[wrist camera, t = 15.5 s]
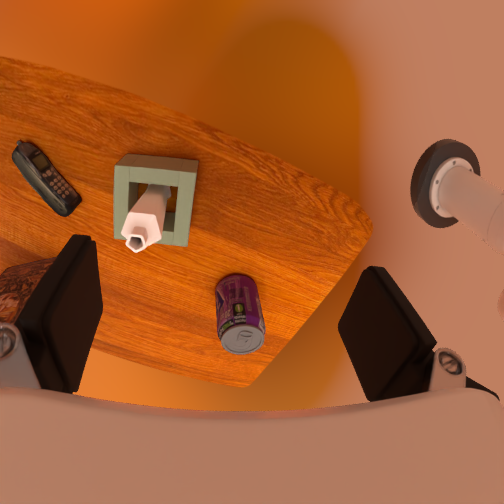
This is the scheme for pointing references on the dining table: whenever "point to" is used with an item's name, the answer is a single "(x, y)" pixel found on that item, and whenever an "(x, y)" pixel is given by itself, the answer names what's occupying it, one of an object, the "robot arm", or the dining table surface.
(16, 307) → the book
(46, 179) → the mobile phone
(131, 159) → the holder
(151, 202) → the perfume bottle
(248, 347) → the beverage can
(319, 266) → the dining table surface
